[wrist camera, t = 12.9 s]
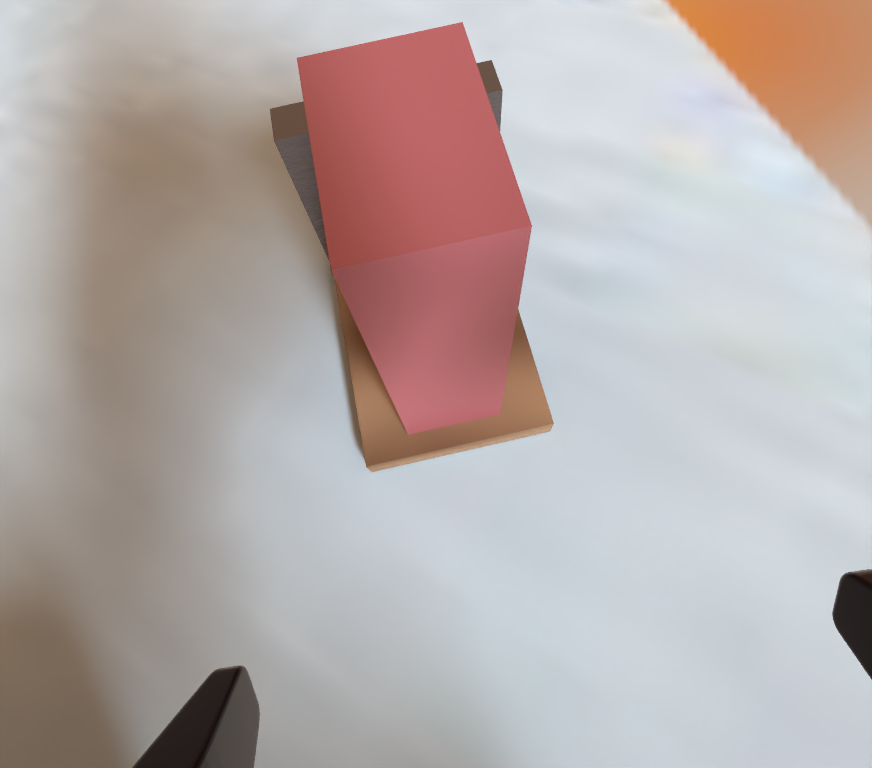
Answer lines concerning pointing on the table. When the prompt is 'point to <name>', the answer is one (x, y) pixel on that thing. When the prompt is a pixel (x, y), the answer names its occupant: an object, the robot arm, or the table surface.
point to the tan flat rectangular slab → (395, 447)
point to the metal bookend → (298, 152)
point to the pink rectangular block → (420, 218)
